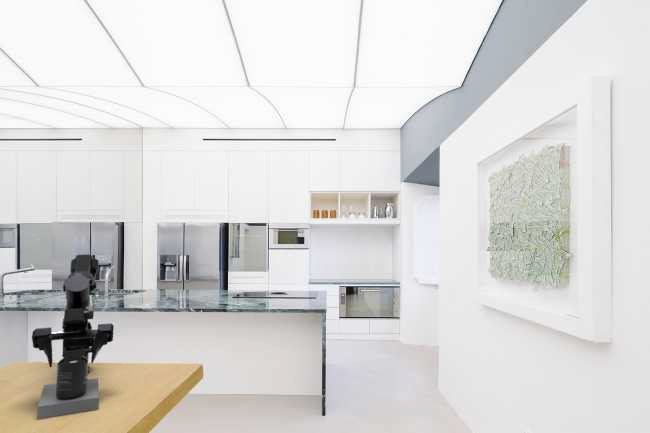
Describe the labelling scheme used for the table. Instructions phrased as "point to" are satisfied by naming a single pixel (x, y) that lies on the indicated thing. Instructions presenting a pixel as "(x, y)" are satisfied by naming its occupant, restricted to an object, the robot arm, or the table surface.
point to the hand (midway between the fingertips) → (71, 364)
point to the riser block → (67, 401)
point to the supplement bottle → (72, 373)
